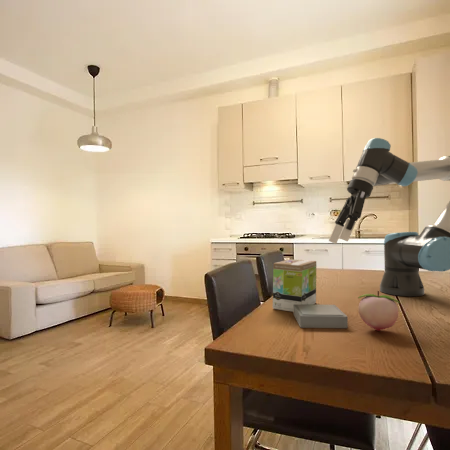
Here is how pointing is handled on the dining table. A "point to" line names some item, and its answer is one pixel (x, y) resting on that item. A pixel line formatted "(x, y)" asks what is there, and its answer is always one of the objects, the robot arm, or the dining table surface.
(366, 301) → the decorative fruit
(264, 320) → the dining table surface
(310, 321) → the slate trivet
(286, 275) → the tea box
